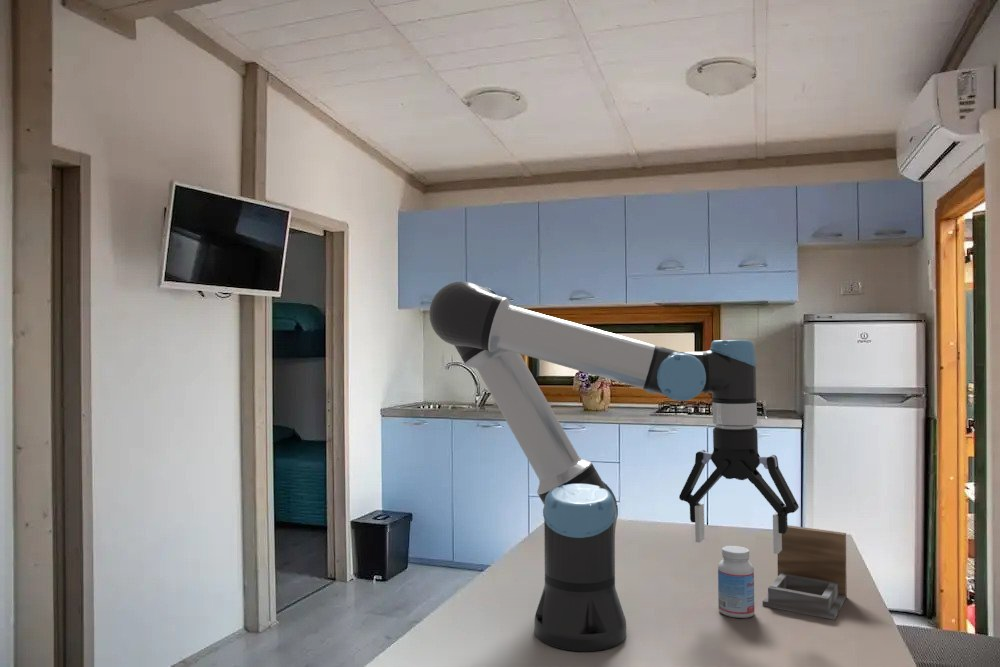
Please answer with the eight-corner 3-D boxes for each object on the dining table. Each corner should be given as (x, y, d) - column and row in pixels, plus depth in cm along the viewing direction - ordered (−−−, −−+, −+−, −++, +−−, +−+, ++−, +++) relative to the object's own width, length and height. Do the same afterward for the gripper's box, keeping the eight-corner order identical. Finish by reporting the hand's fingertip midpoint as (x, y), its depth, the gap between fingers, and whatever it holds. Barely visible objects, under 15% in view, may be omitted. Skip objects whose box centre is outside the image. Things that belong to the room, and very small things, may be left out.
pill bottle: (756, 620, 123) (756, 555, 123) (720, 618, 124) (719, 553, 124) (751, 607, 129) (751, 545, 129) (716, 605, 130) (716, 543, 130)
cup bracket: (834, 619, 123) (833, 550, 123) (762, 605, 130) (761, 539, 130) (846, 597, 134) (845, 533, 134) (779, 585, 140) (779, 524, 141)
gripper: (814, 427, 123) (817, 550, 123) (674, 420, 137) (677, 531, 137) (805, 432, 117) (808, 562, 116) (660, 425, 131) (662, 541, 130)
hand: (737, 546), depth 126 cm, fingers open, 13 cm apart
